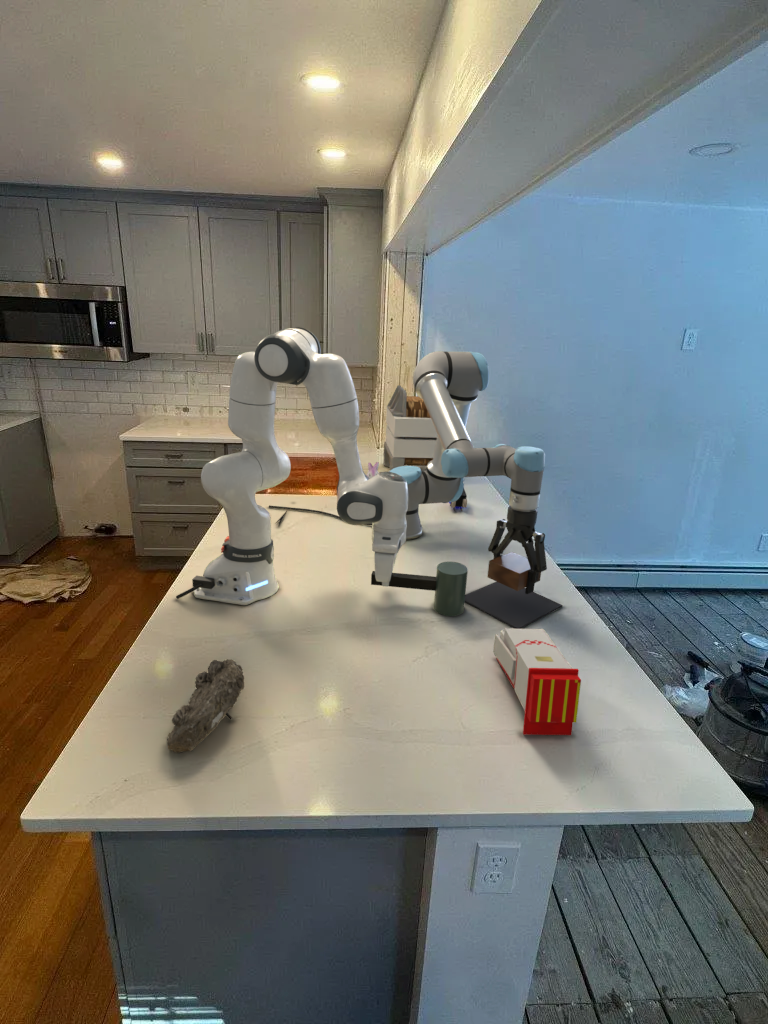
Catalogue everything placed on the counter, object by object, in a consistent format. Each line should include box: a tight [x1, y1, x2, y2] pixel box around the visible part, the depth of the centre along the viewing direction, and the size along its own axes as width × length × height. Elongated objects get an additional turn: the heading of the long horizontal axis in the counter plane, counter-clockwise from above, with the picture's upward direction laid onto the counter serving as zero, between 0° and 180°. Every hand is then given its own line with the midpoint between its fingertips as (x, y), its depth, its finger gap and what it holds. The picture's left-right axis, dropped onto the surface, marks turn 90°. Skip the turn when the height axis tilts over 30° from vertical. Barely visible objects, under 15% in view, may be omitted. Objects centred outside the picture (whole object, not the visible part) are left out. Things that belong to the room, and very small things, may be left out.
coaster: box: [464, 581, 563, 629], centre depth 156 cm, size 20×20×1 cm
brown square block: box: [487, 551, 542, 591], centre depth 152 cm, size 10×10×5 cm
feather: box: [274, 510, 288, 528], centre depth 213 cm, size 2×28×2 cm
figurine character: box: [448, 487, 468, 512], centre depth 228 cm, size 7×8×15 cm
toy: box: [492, 627, 582, 736], centre depth 118 cm, size 12×13×30 cm
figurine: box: [366, 461, 380, 479], centre depth 234 cm, size 9×10×15 cm
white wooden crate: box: [383, 384, 438, 471], centre depth 268 cm, size 34×33×41 cm
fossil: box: [166, 658, 245, 754], centre depth 106 cm, size 22×10×15 cm
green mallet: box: [370, 561, 469, 617], centre depth 150 cm, size 25×8×12 cm, turn 83°
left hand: (386, 582), depth 151 cm, fingers closed on green mallet, 2 cm apart
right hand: (512, 584), depth 154 cm, fingers closed on brown square block, 10 cm apart
